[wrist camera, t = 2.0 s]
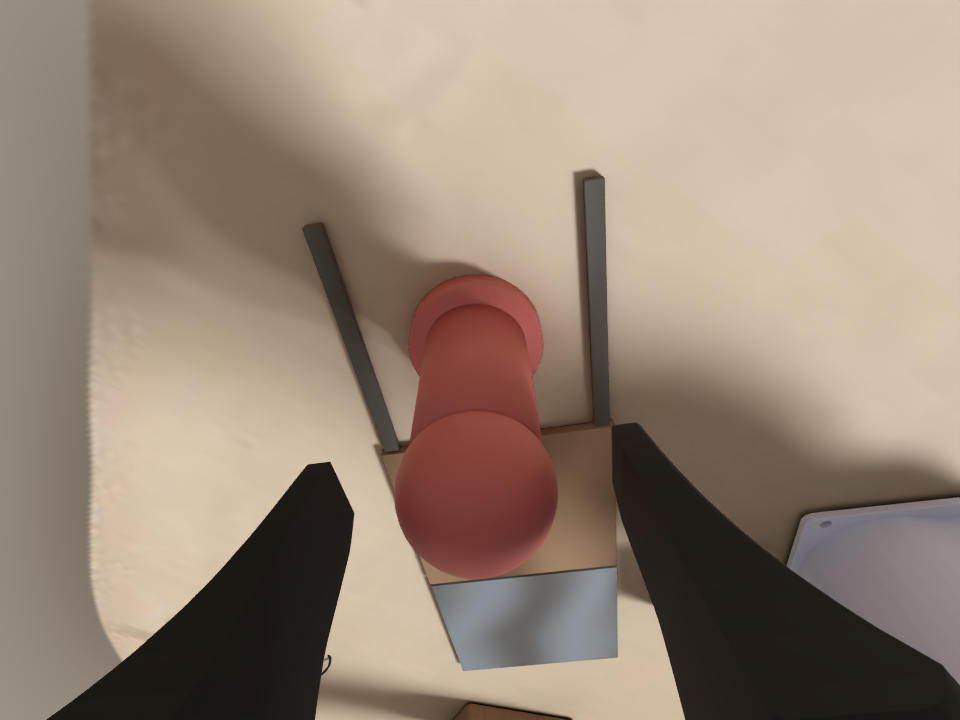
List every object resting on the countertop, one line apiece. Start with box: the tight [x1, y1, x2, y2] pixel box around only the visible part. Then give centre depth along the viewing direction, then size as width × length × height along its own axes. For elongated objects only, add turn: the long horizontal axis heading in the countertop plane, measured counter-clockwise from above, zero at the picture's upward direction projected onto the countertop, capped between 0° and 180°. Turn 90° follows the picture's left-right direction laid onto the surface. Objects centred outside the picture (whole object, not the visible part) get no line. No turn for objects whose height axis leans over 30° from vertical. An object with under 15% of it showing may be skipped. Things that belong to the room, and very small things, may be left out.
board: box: [302, 176, 618, 671], centre depth 24 cm, size 10×30×1 cm, turn 9°
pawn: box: [394, 275, 558, 579], centre depth 14 cm, size 5×5×10 cm
